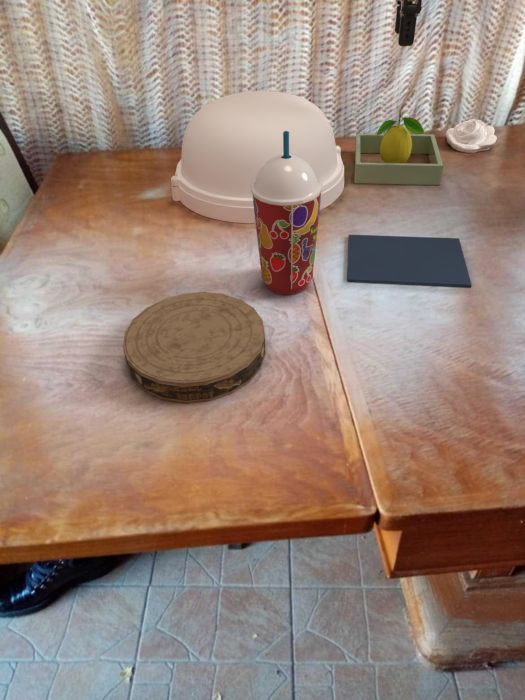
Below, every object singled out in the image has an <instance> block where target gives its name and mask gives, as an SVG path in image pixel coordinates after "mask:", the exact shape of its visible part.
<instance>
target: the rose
mask: <svg viewBox="0 0 525 700" xmlns="http://www.w3.org/2000/svg"><path fill="white" fill-rule="evenodd" d="M445 138H446V143H447V144H449V146H450V147H451V149H453V150H455V151H457V152H460V153H466V154H467V153H468V154H473V153H478V152H483V151H488V150H489V151H490V149H491V148H492V147H493V146H494V145H495V143H496V142H497V140H498V137H497V135H496V134H495V127H494V126H493V125H490V124H487V125H486V124H485V123H484V121H482V120H480V119H474V118H470V119H467V120H465V121H462V122H460V123H458V124H456V125H455V126H454V127H450V128H448V129H447V130H446V131H445Z"/></svg>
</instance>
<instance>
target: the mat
mask: <svg viewBox="0 0 525 700" xmlns="http://www.w3.org/2000/svg"><path fill="white" fill-rule="evenodd" d="M347 251H348V252H347V278H346V279H347V280H346V281H347V282H348V283H368V284H369V283H370V284H389V285H390V284H393V285H411V286H412V285H414V286H432V287H433V286H434V287H454V288H455V287H458V288H472V281H471V278H470V274H469V270H468V267H467V263H466V258H465V255H464V252H463V247H462V244H461V241H460V238H459V237H430V236H405V235H404V236H403V235H402V236H401V235H376V234H375V235H372V234H348V247H347Z"/></svg>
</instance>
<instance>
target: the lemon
mask: <svg viewBox="0 0 525 700" xmlns="http://www.w3.org/2000/svg"><path fill="white" fill-rule="evenodd" d="M401 119H402V121H403V124H404V126H403V125H402V124H401ZM397 122H398V123H397ZM411 133H412V134H425V131H424V128H423V125H422V124H421V122H420V121H418V119H416V118H414V117H403V116H402V111H401V110H399V114H398V119H397V120H394V119H388V120H385V121H383V122H382V124H381V125H380V126H379V128H378V129H377V132H376V133H375V134H376V135H380V134H384V136H383V138H382V141H381V146H380V153H379V154H380V158H381V160H382V161H383V163H407V161H408V159H409V158H410V157H411V155H412V154H411V150H412V139H411V135H410V134H411Z"/></svg>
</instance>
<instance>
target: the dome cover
mask: <svg viewBox="0 0 525 700" xmlns="http://www.w3.org/2000/svg"><path fill="white" fill-rule="evenodd" d="M284 131H289V154H291V155H295V156H298V157H301V158H302V159H304V160H306V161H307V162H308V163H309V164H310V165H311V167H312V168H313V169H314V171H315V173H316V175H317V177H318V180H319V181H320V182H321V183H322V192H321V200H320V210H319V211H322V210H323V209H325V208H327V207H329V206H330V205H332V204H333V203H335V201H337V200H338V198H339V197H340V196H341V195H342V194H343V191H344V189H345V165H344V163H343V159H342V154H341V152H342V151H341V150H342V148H341V147H340V146H339V145H337V144H336V138H335V135H334V131H333V128H332V126H331V122H330V121H329V119H328V117H327V116H326V114H325V113H324V111H322V110H321V108H319V107H318V106H317V105H316V104H315V103H313V102H312V101H310V100H308V99H306V98H303V97H302V96H299V95H295V94H292V93H288V92H283V91H275V90H250V91H249V90H248V91H242V92H236V93H232V94H228V95H224V96H222V97H218V98H216V99H214V100H212V101H210V102H208V103H207V104H205V105H204V106H202V107H200V108H199V109H198V111H197V112H195V113H194V115H192V117H191V119H190V120H189V122H188V123H187V126H186V128H185V130H184V133H183V138H182V143H181V153H180V154H181V155H180V156H181V157H180V160H179V161H178V162H177V165H176V168H175V173H174V174H175V175H172V176H171V177H170V184H171V197H172V201H174V202H180V203H181V204H182V205H183V206H184V207H186V208H187V209H188V210H190V211H192V212H194V213H196V214H198V215H200V216H203V217H205V218H210V219H213V220H216V221H222V222H228V223H236V224H256V222H255V214H254V205H253V194H252V192H251V186H252V184H253V182H254V181H255V179H256V176H257V174H258V172H259V170H260V169H261V168H262V166H263V165H264V164H265V163H266V162H267V161H268V160H270V159H272V158H273V157H276V156H279V155H283V132H284Z"/></svg>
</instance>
